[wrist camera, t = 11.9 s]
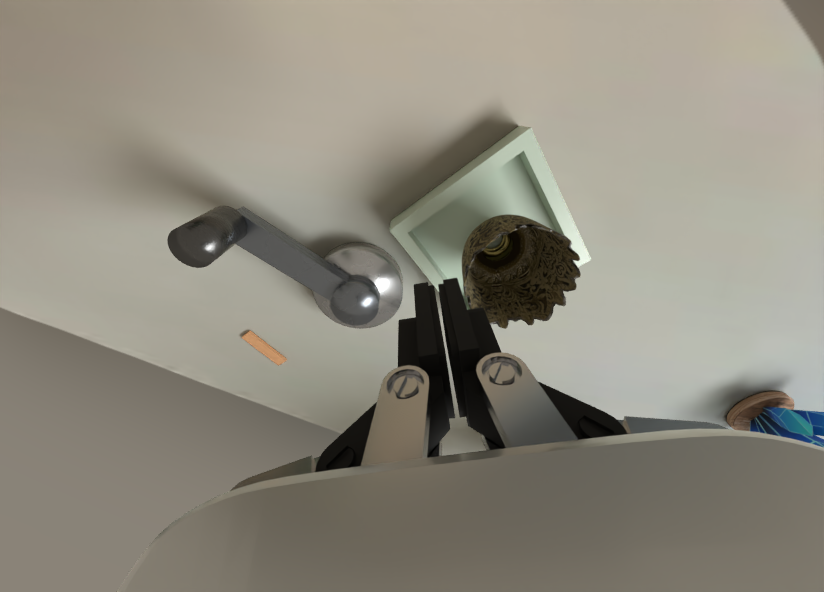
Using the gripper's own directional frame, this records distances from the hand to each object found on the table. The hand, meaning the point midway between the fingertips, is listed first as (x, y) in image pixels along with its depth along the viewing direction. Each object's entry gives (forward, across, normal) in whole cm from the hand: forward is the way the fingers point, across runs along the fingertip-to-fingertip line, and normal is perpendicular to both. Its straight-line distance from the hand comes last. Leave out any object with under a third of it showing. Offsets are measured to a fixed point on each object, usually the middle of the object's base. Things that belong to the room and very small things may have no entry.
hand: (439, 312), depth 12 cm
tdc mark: (+16, +19, +12) cm, 28 cm away
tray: (+16, -5, +4) cm, 17 cm away
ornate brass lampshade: (+15, -6, +4) cm, 17 cm away
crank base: (+16, +7, +6) cm, 18 cm away
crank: (+13, +10, +2) cm, 17 cm away
